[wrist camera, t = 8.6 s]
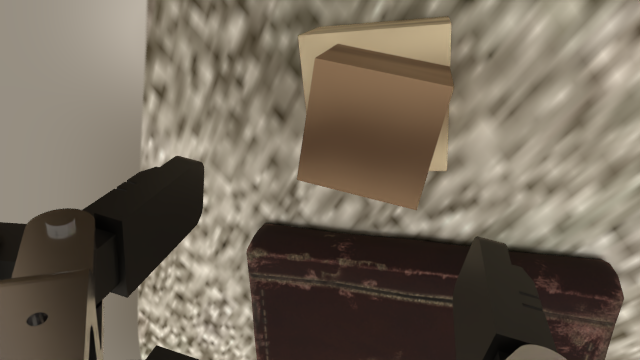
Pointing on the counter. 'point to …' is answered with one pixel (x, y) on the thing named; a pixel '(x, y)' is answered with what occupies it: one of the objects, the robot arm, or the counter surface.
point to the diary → (403, 297)
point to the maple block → (391, 38)
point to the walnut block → (373, 123)
